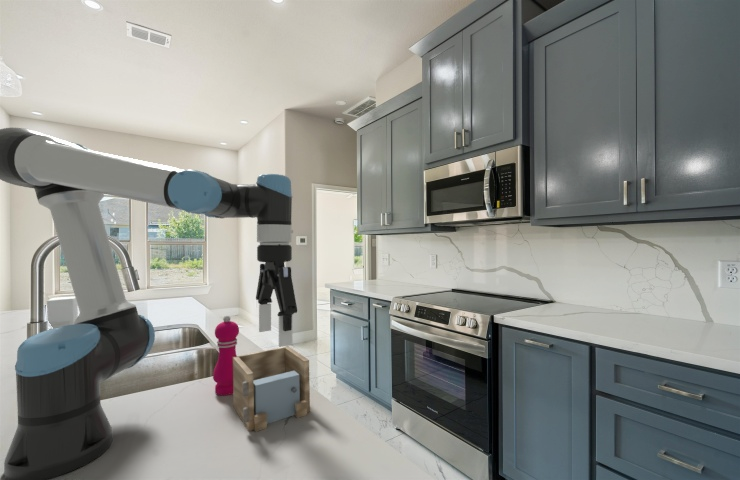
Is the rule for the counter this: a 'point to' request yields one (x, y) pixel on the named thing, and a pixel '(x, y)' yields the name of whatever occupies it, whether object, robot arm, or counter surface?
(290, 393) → the door
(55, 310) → the supplement box
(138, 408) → the counter surface
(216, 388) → the pepper mill
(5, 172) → the robot arm
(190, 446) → the counter surface
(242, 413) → the cabinet
